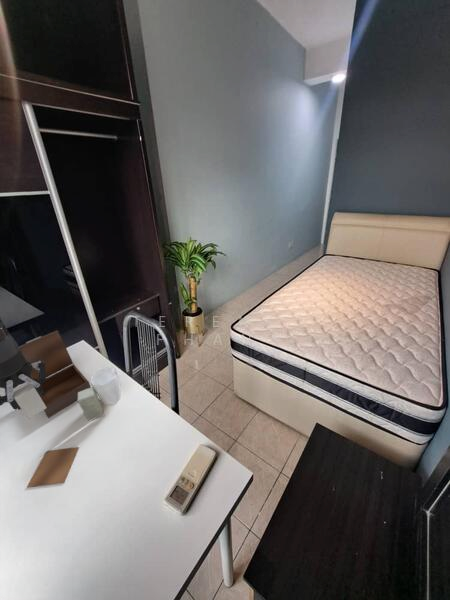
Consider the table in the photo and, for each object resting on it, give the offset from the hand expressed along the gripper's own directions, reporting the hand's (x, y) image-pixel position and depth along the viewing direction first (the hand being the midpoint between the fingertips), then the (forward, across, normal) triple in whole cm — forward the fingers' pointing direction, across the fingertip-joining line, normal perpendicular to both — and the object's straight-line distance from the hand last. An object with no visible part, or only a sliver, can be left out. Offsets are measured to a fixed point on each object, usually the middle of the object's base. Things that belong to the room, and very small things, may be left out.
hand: (30, 401), depth 68 cm
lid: (+7, -9, -30) cm, 32 cm away
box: (+22, -13, -3) cm, 26 cm away
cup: (+22, -20, -5) cm, 30 cm away
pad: (+22, +3, +5) cm, 23 cm away
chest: (+22, -9, -22) cm, 32 cm away
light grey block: (+3, 0, 0) cm, 3 cm away
